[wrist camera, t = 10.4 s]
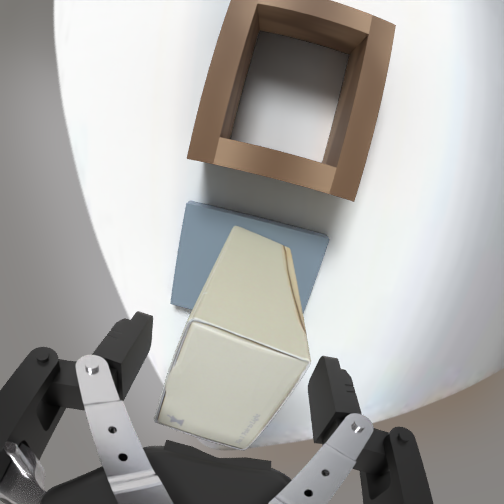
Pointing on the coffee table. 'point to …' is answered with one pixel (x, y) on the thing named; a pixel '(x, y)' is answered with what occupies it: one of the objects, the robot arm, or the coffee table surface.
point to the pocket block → (349, 104)
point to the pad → (214, 237)
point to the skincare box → (238, 346)
